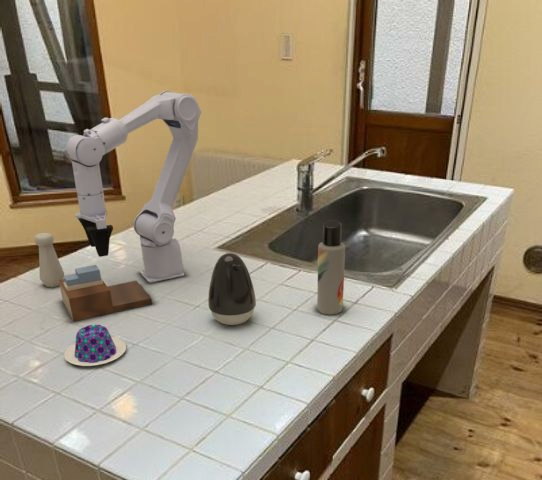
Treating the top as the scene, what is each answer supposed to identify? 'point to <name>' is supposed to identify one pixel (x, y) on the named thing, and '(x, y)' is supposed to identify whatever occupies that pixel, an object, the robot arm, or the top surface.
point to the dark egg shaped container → (231, 291)
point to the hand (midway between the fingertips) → (99, 250)
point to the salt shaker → (48, 261)
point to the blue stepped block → (83, 278)
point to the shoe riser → (103, 299)
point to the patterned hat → (94, 347)
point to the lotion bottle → (331, 269)
